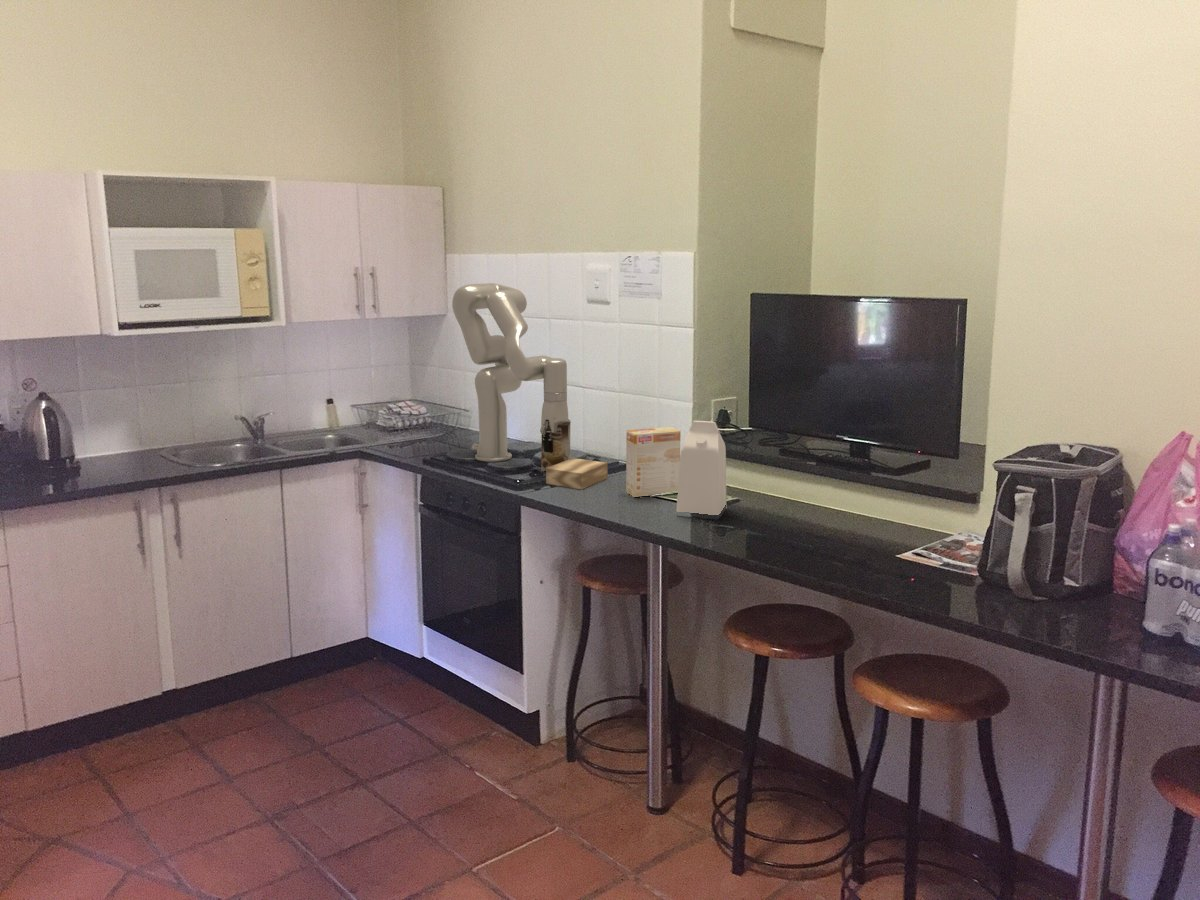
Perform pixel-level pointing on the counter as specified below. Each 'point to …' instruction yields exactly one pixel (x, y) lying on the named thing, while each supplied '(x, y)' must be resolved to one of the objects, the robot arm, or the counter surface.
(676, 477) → the coffeecake box
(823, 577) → the counter surface
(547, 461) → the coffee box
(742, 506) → the counter surface
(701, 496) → the milk
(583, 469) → the oak block
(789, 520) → the counter surface
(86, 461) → the counter surface
